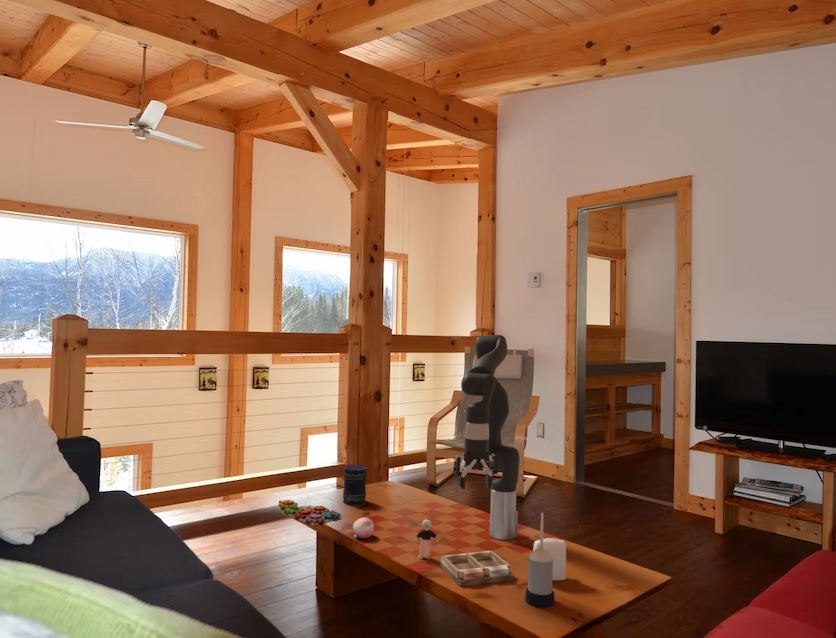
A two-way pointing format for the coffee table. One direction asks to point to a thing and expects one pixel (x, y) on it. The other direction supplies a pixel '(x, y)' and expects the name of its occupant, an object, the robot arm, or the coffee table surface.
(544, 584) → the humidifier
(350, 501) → the storage jar
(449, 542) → the coffee table surface
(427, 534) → the grandmother figurine
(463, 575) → the wooden divided tray
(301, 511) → the gear puzzle
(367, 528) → the onion
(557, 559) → the photo printer
